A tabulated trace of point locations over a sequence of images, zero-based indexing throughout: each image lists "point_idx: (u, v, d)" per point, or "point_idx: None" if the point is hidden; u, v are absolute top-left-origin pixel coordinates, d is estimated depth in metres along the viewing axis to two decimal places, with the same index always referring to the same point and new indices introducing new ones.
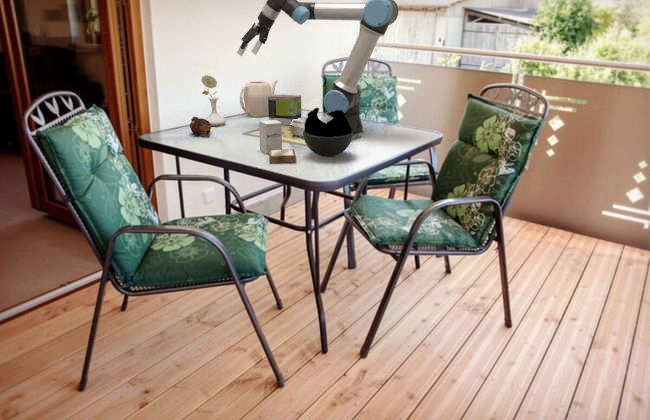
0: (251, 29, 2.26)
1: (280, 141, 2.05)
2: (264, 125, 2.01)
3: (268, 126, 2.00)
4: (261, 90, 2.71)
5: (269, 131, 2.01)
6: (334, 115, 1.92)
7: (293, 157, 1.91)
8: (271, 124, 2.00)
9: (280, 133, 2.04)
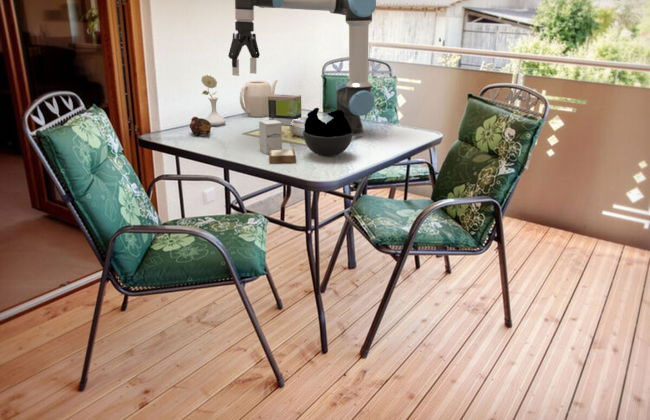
0: (233, 41, 2.00)
1: (280, 141, 2.05)
2: (264, 125, 2.01)
3: (268, 126, 2.00)
4: (261, 90, 2.71)
5: (269, 131, 2.01)
6: (334, 115, 1.92)
7: (293, 157, 1.91)
8: (271, 124, 2.00)
9: (280, 133, 2.04)
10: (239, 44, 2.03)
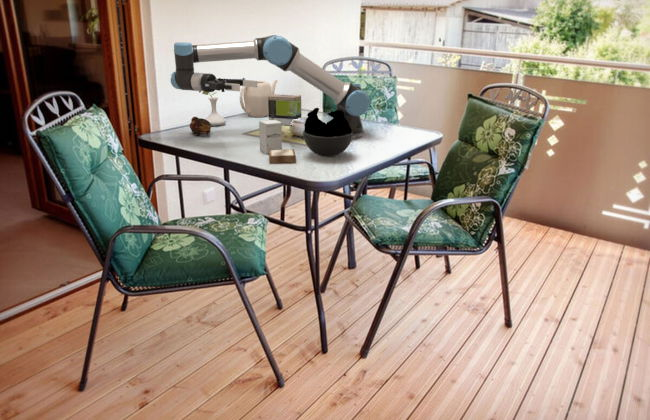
0: (210, 86, 2.01)
1: (280, 141, 2.05)
2: (264, 125, 2.01)
3: (268, 126, 2.00)
4: (261, 90, 2.71)
5: (269, 131, 2.01)
6: (334, 115, 1.92)
7: (293, 157, 1.91)
8: (271, 124, 2.00)
9: (280, 133, 2.04)
10: None
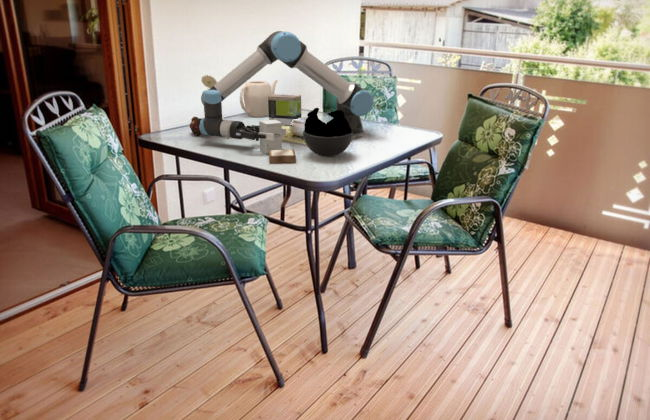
0: (242, 135, 2.03)
1: (280, 141, 2.05)
2: (264, 125, 2.01)
3: (268, 126, 2.00)
4: (261, 90, 2.71)
5: (269, 131, 2.01)
6: (334, 115, 1.92)
7: (293, 157, 1.91)
8: (271, 124, 2.00)
9: (280, 133, 2.04)
10: None
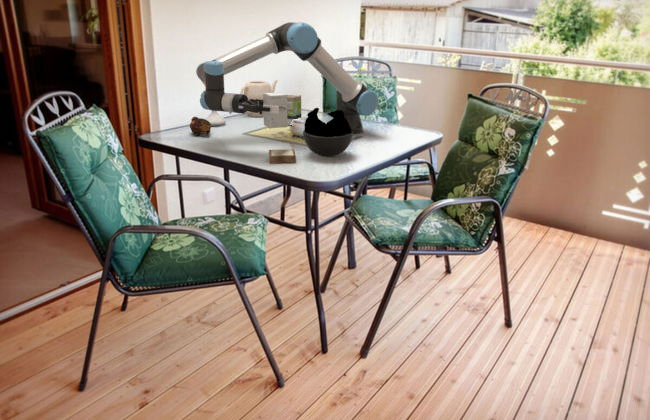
0: (245, 108, 1.89)
1: (285, 114, 1.91)
2: (268, 97, 1.87)
3: (272, 98, 1.86)
4: (261, 90, 2.71)
5: (273, 103, 1.87)
6: (334, 115, 1.92)
7: (293, 157, 1.91)
8: (276, 96, 1.87)
9: (285, 106, 1.90)
10: None
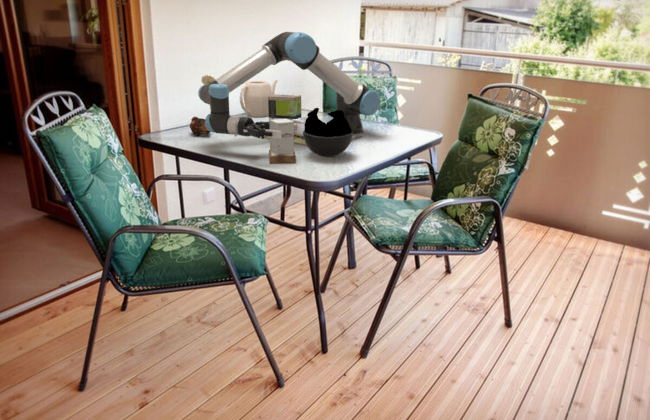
0: (249, 132, 1.89)
1: (292, 141, 1.91)
2: (275, 124, 1.87)
3: (279, 125, 1.87)
4: (261, 90, 2.71)
5: None
6: (334, 115, 1.92)
7: (293, 157, 1.91)
8: (282, 123, 1.87)
9: (292, 133, 1.90)
10: (255, 129, 1.91)
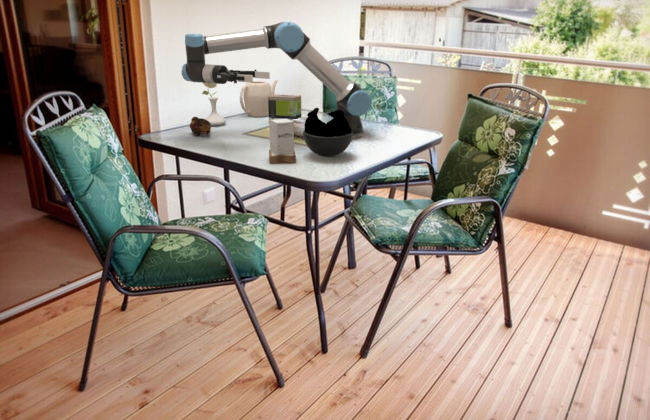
0: (222, 78, 1.98)
1: (292, 141, 1.91)
2: (275, 124, 1.87)
3: (279, 125, 1.87)
4: (261, 90, 2.71)
5: (280, 131, 1.87)
6: (334, 115, 1.92)
7: (293, 157, 1.91)
8: (282, 123, 1.87)
9: (292, 133, 1.90)
10: None
